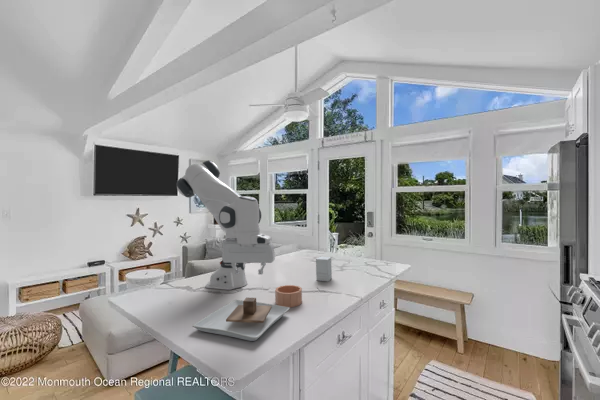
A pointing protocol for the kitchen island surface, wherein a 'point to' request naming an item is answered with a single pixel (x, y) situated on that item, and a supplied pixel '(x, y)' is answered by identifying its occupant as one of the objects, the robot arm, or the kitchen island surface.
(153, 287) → the kitchen island surface
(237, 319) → the walnut lid
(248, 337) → the square plate
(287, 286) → the terracotta bowl
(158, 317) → the kitchen island surface
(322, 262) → the supplement box
